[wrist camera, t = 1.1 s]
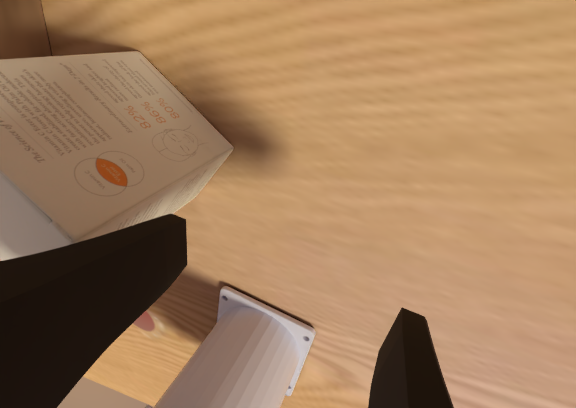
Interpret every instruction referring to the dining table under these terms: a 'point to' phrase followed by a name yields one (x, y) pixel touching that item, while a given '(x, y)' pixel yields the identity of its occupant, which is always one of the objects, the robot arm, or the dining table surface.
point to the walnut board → (22, 30)
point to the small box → (95, 149)
